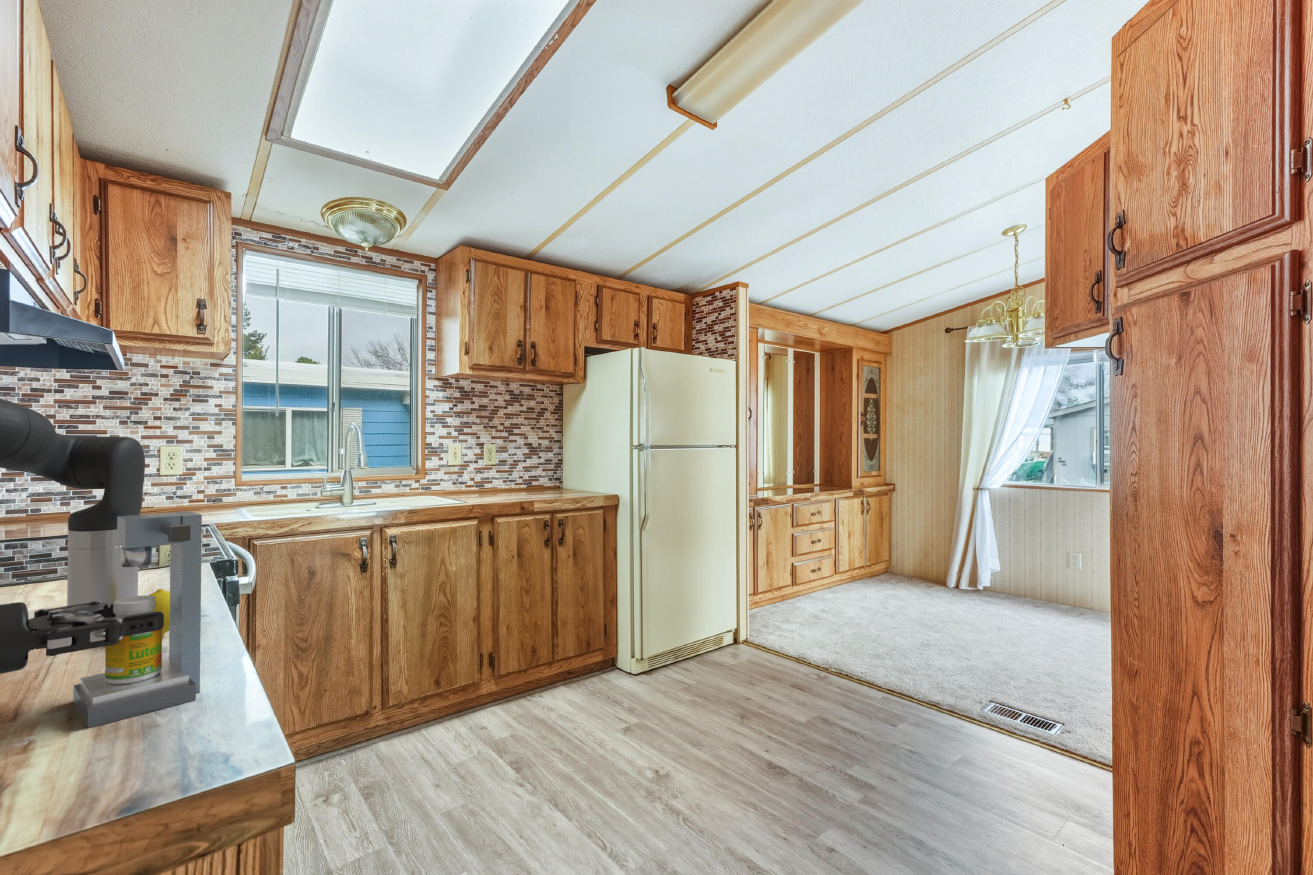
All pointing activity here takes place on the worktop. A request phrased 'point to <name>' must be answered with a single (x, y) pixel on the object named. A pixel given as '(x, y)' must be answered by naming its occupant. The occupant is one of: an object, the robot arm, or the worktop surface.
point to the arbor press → (183, 665)
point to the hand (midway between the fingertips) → (155, 613)
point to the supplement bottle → (134, 646)
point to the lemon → (163, 607)
